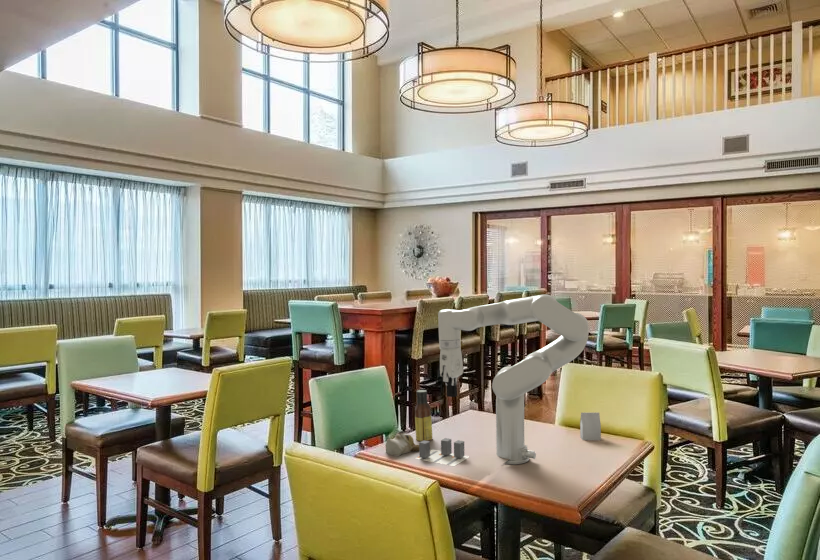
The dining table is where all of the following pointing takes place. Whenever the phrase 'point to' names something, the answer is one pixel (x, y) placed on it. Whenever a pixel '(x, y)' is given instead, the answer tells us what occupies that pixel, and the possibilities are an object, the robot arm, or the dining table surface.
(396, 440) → the ceramic sculpture
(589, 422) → the grey upright block
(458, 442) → the slider
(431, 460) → the switch panel
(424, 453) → the slider
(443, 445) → the slider
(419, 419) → the sauce bottle
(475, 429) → the dining table surface
